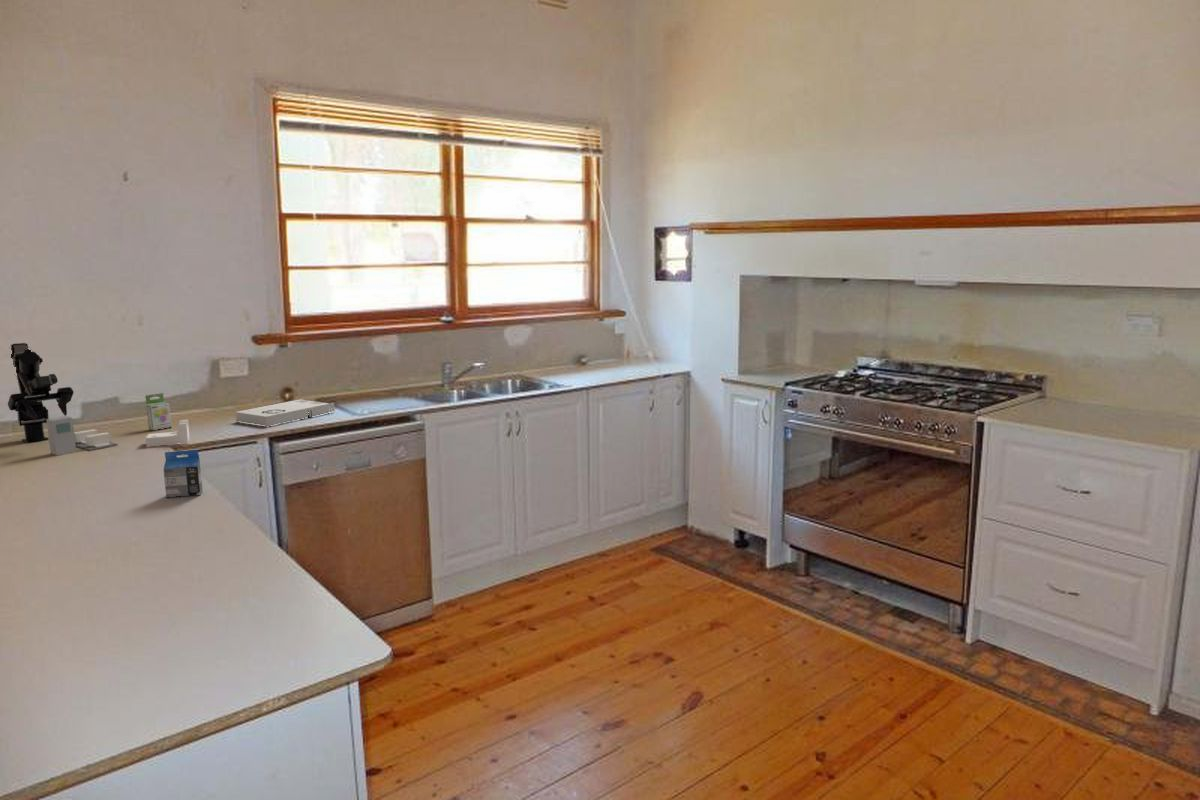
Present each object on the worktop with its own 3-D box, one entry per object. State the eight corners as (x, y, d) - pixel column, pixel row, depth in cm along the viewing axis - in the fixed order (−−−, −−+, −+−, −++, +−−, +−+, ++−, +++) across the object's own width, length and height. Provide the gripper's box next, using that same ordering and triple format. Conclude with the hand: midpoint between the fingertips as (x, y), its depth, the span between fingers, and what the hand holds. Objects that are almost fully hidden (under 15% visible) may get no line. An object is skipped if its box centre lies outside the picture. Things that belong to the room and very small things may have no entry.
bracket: (189, 440, 301) (187, 419, 300) (188, 444, 295) (186, 423, 293) (149, 443, 297) (147, 422, 295) (146, 448, 290) (144, 426, 289)
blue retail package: (165, 498, 230) (161, 455, 228) (169, 494, 234) (164, 451, 232) (200, 495, 232) (196, 452, 230) (203, 491, 236) (198, 449, 234)
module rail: (67, 444, 295) (66, 432, 295) (94, 439, 303) (93, 427, 302) (90, 450, 286) (88, 438, 285) (117, 445, 293) (116, 433, 292)
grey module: (51, 454, 282) (46, 419, 280) (70, 450, 287) (65, 416, 285) (57, 455, 279) (52, 420, 277) (76, 452, 284) (72, 417, 282)
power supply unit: (335, 414, 348) (334, 402, 347) (267, 429, 320) (266, 416, 319) (304, 410, 357) (303, 398, 356) (236, 424, 330) (235, 411, 329)
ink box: (153, 431, 315) (149, 396, 313) (148, 430, 318) (144, 395, 315) (172, 428, 321) (168, 393, 318) (167, 426, 323) (163, 392, 321)
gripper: (6, 370, 277) (24, 406, 272) (67, 364, 292) (86, 398, 287) (0, 392, 283) (18, 427, 278) (60, 384, 298) (78, 418, 293)
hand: (51, 417), depth 284 cm, fingers open, 9 cm apart
